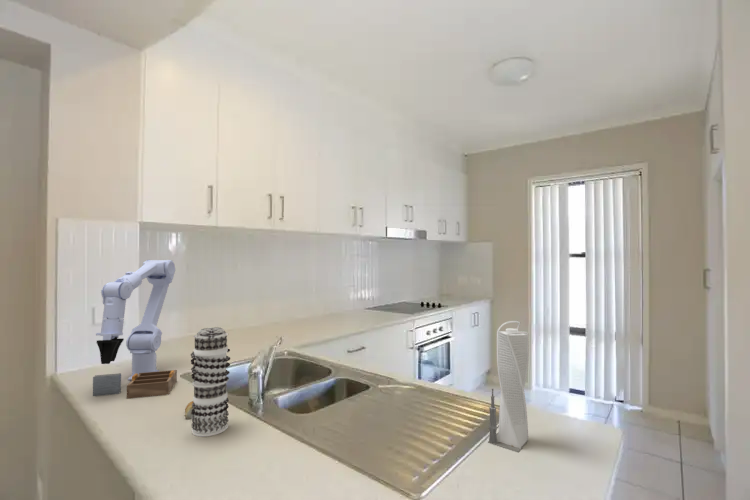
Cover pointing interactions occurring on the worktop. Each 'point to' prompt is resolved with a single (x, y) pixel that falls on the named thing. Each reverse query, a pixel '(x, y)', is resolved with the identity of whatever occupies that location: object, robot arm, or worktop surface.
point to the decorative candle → (210, 382)
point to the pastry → (189, 411)
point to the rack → (151, 384)
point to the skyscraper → (511, 390)
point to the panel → (106, 384)
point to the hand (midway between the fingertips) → (108, 362)
